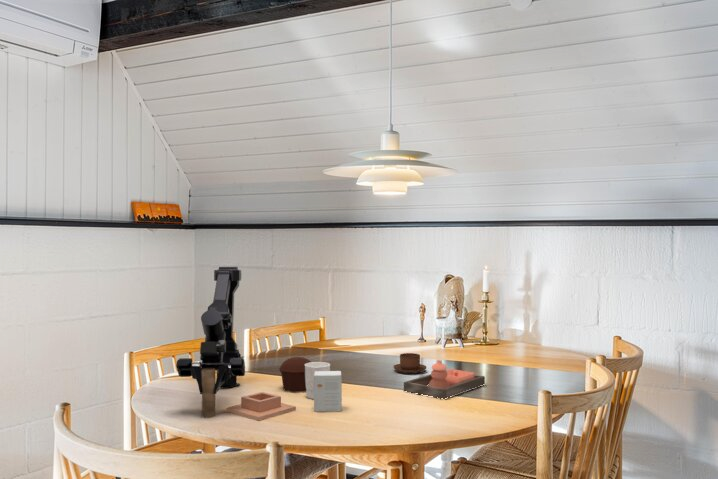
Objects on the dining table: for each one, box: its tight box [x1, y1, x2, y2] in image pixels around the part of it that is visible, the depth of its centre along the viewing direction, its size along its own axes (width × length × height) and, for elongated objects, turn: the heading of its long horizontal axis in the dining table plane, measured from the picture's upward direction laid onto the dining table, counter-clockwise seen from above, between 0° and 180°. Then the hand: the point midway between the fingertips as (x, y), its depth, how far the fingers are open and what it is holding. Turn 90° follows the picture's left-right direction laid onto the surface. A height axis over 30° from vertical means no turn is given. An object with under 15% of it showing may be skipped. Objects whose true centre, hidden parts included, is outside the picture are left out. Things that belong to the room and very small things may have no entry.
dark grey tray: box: [403, 369, 486, 400], centre depth 217 cm, size 15×24×3 cm, turn 139°
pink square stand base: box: [225, 391, 297, 421], centre depth 190 cm, size 14×14×4 cm
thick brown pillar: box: [201, 368, 216, 419], centre depth 184 cm, size 4×4×13 cm
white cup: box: [305, 361, 331, 400], centre depth 206 cm, size 8×8×10 cm
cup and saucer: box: [393, 352, 427, 374], centre depth 242 cm, size 12×12×6 cm
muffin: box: [278, 356, 312, 393], centre depth 216 cm, size 12×11×10 cm
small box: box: [313, 370, 343, 412], centre depth 192 cm, size 8×6×10 cm
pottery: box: [428, 360, 476, 389], centre depth 218 cm, size 18×10×10 cm, turn 139°
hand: (207, 393), depth 183 cm, fingers closed on thick brown pillar, 4 cm apart
